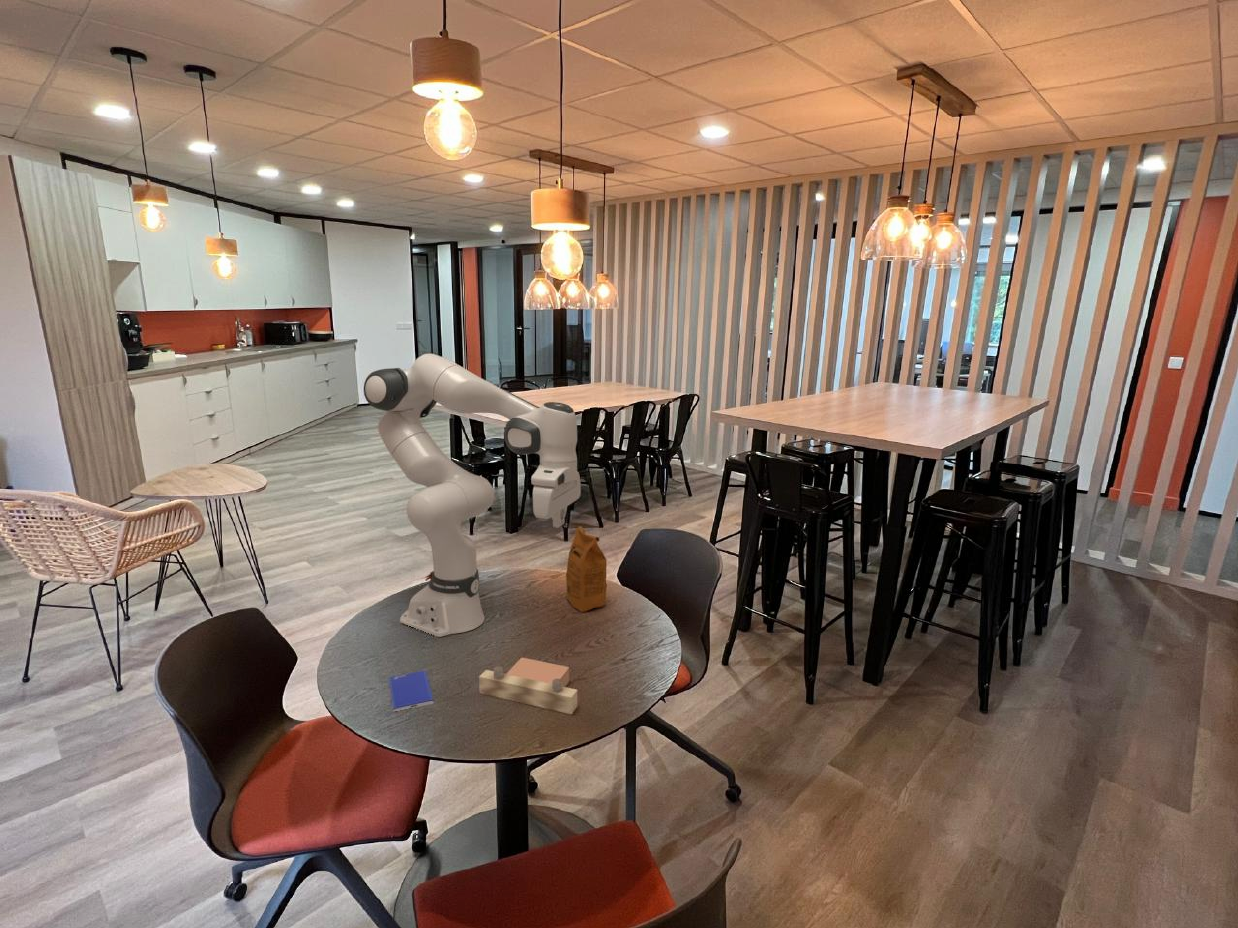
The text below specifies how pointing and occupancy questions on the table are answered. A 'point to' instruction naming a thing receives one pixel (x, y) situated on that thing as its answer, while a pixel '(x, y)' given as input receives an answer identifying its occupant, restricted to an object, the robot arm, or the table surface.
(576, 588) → the coffee package
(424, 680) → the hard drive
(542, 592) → the table surface
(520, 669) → the terracotta block
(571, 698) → the stop bar
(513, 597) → the table surface
